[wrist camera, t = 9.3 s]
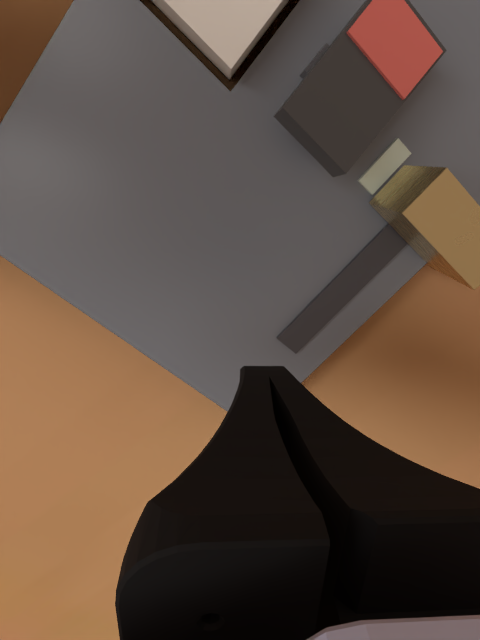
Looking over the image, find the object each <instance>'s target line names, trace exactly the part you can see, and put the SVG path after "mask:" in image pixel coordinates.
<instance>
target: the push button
mask: <svg viewBox="0 0 480 640" xmlns="http://www.w3.org/2000/svg"><path fill="white" fill-rule="evenodd" d="M151 1H152V2H153V3H154V4H155V5H156V6H157V7H158V8H159V9H160V10H161V11H162V12H163V13H164V14H165V15H166V16H167V17H168V18H169V19H170V20H171V22H172V23H173V24H174V25H175V26H176V27H177V28H178V29H179V30H180V31H181V32H182V33H183V34H184V35H185V36H186V37H187V38H188V39H189V40H190V41H191V42H192V43H193V44H194V45H195V46H196V47H197V48H198V49H199V50H200V51H201V52H202V53H203V54H204V55H205V56H206V57H207V58H208V59H209V60H210V61H211V62H212V63H213V64H214V65H215V66H216V67H217V68H218V69H219V70H220V71H221V72H222V73H223V74H224V75H225V76H226V77H227V78H228V79H229V80H230V79H231V77H232V76H233V75H234V73H235V72H236V71H237V69H238V68H239V67H240V65H241V64H242V63H243V61H244V60H245V59H246V57H247V56H248V55H249V53H250V52H251V51H252V49H253V48H254V47H255V45H256V44H257V43H258V41H259V40H260V39H261V37H262V36H263V35H264V33H265V32H266V31H267V29H268V28H269V27H270V25H271V24H272V23H273V21H274V20H275V19H276V17H277V16H278V15H279V13H280V12H281V11H282V9H283V8H284V7H285V5H286V4H287V3H288V1H289V0H151Z"/></svg>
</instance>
